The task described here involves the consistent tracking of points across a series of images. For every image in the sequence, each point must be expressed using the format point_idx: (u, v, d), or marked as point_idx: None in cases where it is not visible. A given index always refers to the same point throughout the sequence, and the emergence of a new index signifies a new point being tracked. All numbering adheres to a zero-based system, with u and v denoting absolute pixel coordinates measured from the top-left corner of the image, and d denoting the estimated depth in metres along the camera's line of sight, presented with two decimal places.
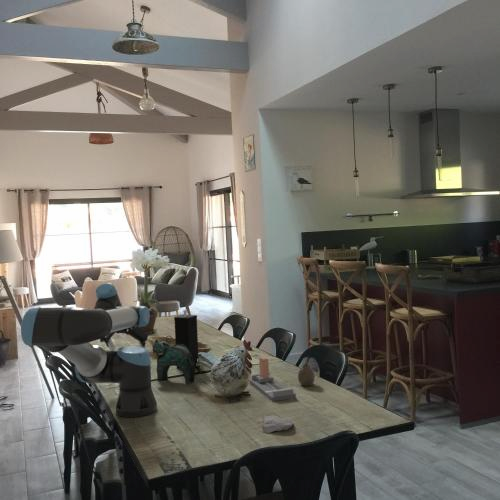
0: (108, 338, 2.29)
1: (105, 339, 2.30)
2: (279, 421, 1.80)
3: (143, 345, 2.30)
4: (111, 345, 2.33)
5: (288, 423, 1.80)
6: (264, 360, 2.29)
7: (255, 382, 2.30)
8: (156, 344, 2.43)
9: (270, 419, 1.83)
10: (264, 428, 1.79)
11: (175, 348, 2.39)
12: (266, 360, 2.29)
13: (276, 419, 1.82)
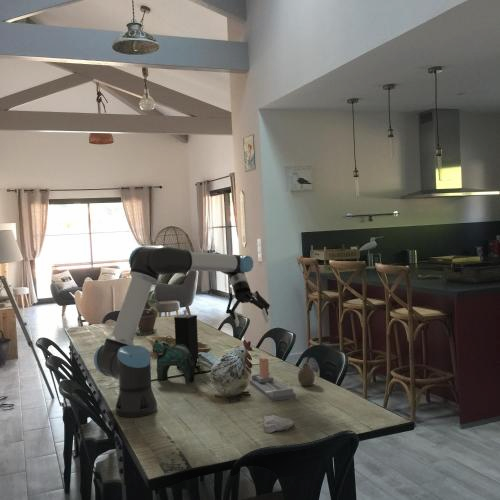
0: (235, 305, 2.43)
1: None
2: (280, 421, 1.80)
3: (267, 313, 2.45)
4: None
5: (289, 423, 1.80)
6: (264, 360, 2.29)
7: (255, 382, 2.30)
8: (156, 344, 2.43)
9: (271, 419, 1.83)
10: (265, 428, 1.79)
11: (175, 348, 2.39)
12: (266, 360, 2.29)
13: (277, 419, 1.82)
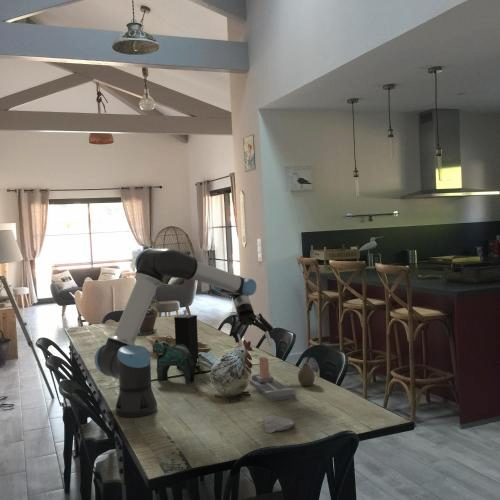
0: (238, 328, 2.43)
1: None
2: (280, 421, 1.80)
3: (270, 335, 2.45)
4: None
5: (289, 423, 1.80)
6: (264, 360, 2.29)
7: (255, 382, 2.30)
8: (156, 344, 2.43)
9: (271, 419, 1.83)
10: (266, 428, 1.79)
11: (175, 348, 2.39)
12: (266, 360, 2.29)
13: (277, 419, 1.82)
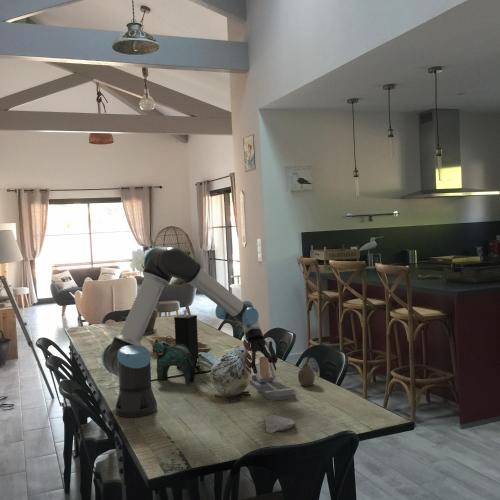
0: (254, 357, 2.32)
1: None
2: (281, 420, 1.81)
3: (274, 368, 2.31)
4: None
5: (290, 422, 1.80)
6: (264, 360, 2.29)
7: (255, 382, 2.30)
8: (156, 344, 2.43)
9: (272, 419, 1.83)
10: (267, 428, 1.79)
11: (175, 348, 2.39)
12: (266, 360, 2.29)
13: (278, 419, 1.82)
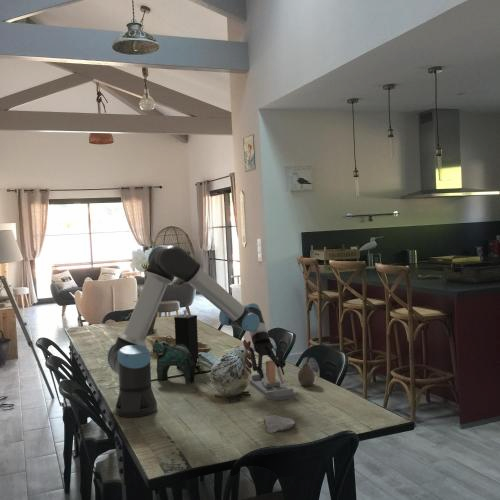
0: (260, 361, 2.25)
1: (258, 367, 2.24)
2: (282, 420, 1.81)
3: (282, 372, 2.24)
4: None
5: (291, 422, 1.81)
6: (271, 364, 2.22)
7: (255, 382, 2.30)
8: (156, 344, 2.43)
9: (272, 419, 1.83)
10: (267, 428, 1.79)
11: (175, 348, 2.39)
12: (273, 364, 2.22)
13: (278, 418, 1.82)
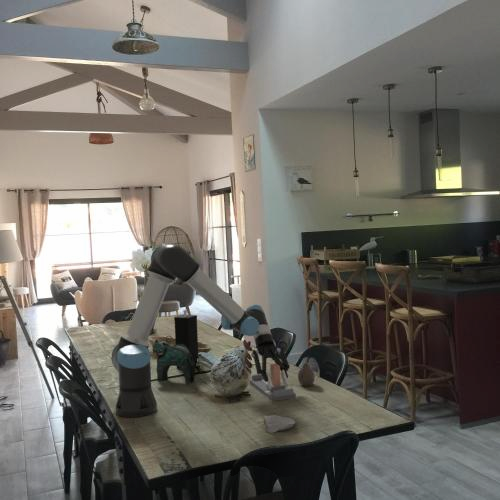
0: (264, 364, 2.20)
1: None
2: (282, 420, 1.81)
3: (286, 375, 2.19)
4: None
5: (291, 422, 1.81)
6: (275, 367, 2.17)
7: (255, 382, 2.30)
8: (156, 344, 2.43)
9: (273, 419, 1.83)
10: (268, 428, 1.79)
11: (175, 348, 2.39)
12: (277, 367, 2.17)
13: (279, 418, 1.82)
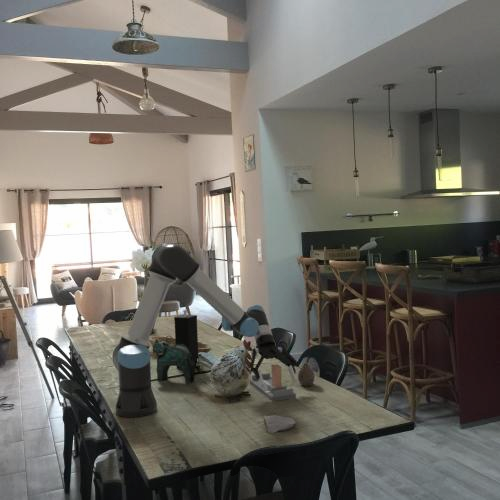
0: (259, 363, 2.19)
1: None
2: (283, 420, 1.81)
3: (294, 371, 2.20)
4: None
5: (292, 422, 1.81)
6: (277, 368, 2.16)
7: (255, 382, 2.30)
8: (156, 344, 2.43)
9: (273, 419, 1.83)
10: (268, 428, 1.79)
11: (175, 348, 2.39)
12: (279, 368, 2.16)
13: (279, 418, 1.82)
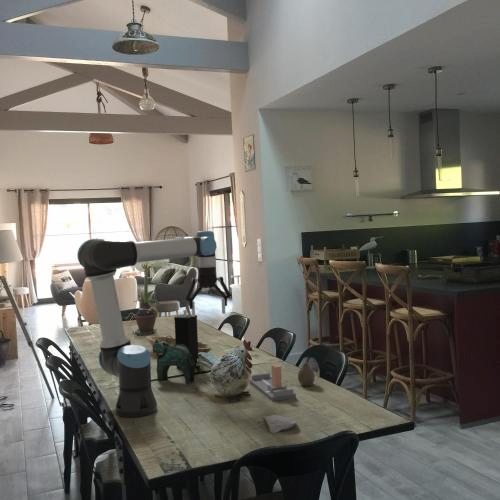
0: (195, 295, 2.37)
1: (190, 298, 2.37)
2: (284, 420, 1.81)
3: (225, 304, 2.42)
4: None
5: (293, 421, 1.81)
6: (277, 368, 2.16)
7: (255, 382, 2.30)
8: (156, 344, 2.43)
9: (274, 419, 1.83)
10: (270, 428, 1.79)
11: (175, 348, 2.39)
12: (279, 368, 2.16)
13: (280, 418, 1.83)
